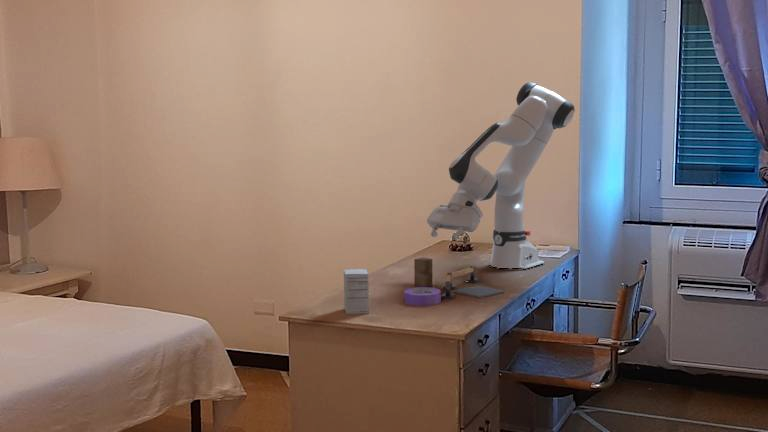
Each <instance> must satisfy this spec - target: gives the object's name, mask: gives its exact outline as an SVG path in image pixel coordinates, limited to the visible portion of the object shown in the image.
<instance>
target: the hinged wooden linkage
mask: <svg viewBox="0 0 768 432" xmlns="http://www.w3.org/2000/svg"><path fill="white" fill-rule="evenodd" d="M475 270H476V267H475V265H470V266H469V267H466V268H463V269H460V270H455V271H453V272H452V271H451V272H446V280H445V284H444V285H443V286H442V290H445V293H443V294H441V300H454V299H455V298H456V293H451V291H455V290H456V289H457V285H456V284H453V278H455V277H459V276H463V275H466V274H469V277H468V278H466V279H465V282H466V281H468V282H467V283H470V282H476V283H478V282H479V281H478V280H479V277H475V273H476V272H475ZM477 281H478V282H477Z"/></svg>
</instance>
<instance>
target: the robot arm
mask: <svg viewBox="0 0 768 432" xmlns="http://www.w3.org/2000/svg"><path fill="white" fill-rule="evenodd" d="M516 103H517V106H516V108H515V110H514V111H513V112H512V113H511V114H510V116H509V117H508V118H507V119H506V120H504V121H503V122H496V123H494V124H492V125H491V126H489V127H488V128H487V129H486V130H485V131H484V132H482V134H480V135H479V137H478V138H476V140H475V141H473V142H472V143H471V144H470V145H469V147H468V148H466V149H465V150H464V151H463V152H462V153H461V154H460V155H458V156H457V157H456V158H454V159H453V160H452V162H451V163H450V165H449V167H448V172H449V173H448V174H449V177H450V179H451V180H453V181H454V182H455V183H457V184H459V185H458V187H457V190H456V191H455V193H453V195H452V196H451V198H450V201H449V202H448V203H447V205H443V204H440V205H438V206H436V207H435V208H433V210H432V211H431V213H430V214H429V215H428V217H427V218H426V222H427V224H428V225H429V227H430V228H432V229H431V230H432V231H431V233H430V236H431V237H432V238H437V236H438V235H439V232H437V231H439V229H443V230H451V231H452V230H453V231H456V232H453V233H452V235H451V239H452V240H455V241H458V239H459V238H460V237H461V236H463V235H464V233H468V232H469V233H473V232H475V231H476V230H477V228H478V227H479V224H480V222H481V219H482V217H483V216H484V214H483V211H482V210H481V208H480V206H479V205H478V203H477V202H478V201H480V202H483V201H488V200H490V199H492V198H493V196H494V195H495V201H494V202H495V204H494V223H493V224H494V230H493V231H492V232H493V233H492V239H493V243H492V251H491V257H490V259H491V260H489V266H490V265H491V266H493V267H497V268H496V269H499V268H529V267H533V266H536V265H539V264H541V263H544V262H545V261H544V260H541V259H539V257H540V256H539V250H538V248H537V247H536V246H534V245H533V244H532V243H531V242H530V241H529V240H528V239H527V236H528V237H530V236H531V230H524V208H525V192H526V191H525V189H526V180H527V179H528V177H529V175H530V173H531V172H532V170H533V168H534V167H535V166H536V164H537V162H538V161H539V158H540V157H541V154H542V153H543V152H544V150H545V148H546V147H547V145H548V143H549V141H550V139H551V137H552V136H553V133H554V130H557V129H562V128H565V127H567V125H568V124H570V122H571V121H572V119H573V117H574V114H575V110H576V109H575V106H574V104H573V103H572V102H571V101H570V100H568V99H565V98H564V97H563V96H561V95H559V94H558V93H557V92H555V91H552V90H549V89H548V88H546V87H543V86H540V85H539V84H538V83H535V82H533V81H532V82H531V81H529V82H526V83H524V84H523V85H522V87H521V88H520V89H519V90H518V92H517V95H516ZM492 143H500V144H504V145H506V146H511V147H510V149H509V150H508V151H507V154H506V156H504V159H503V160H502V162H501V163H500V165H499V167H498V168H497V170H496V172H495V173H494V174H493V173H491V172H490V171H489V170H488V169H486V168H484V167H483V166H482V165H481V164H480V163H478V162H477V161H476V158H477V157H478V156H479V155H480V153H482V152H483V151H484V150H485V149H486V148H487V146H489V145H490V144H492ZM491 266H490V267H491ZM493 267H492V268H493ZM533 268H534V267H533Z"/></svg>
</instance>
